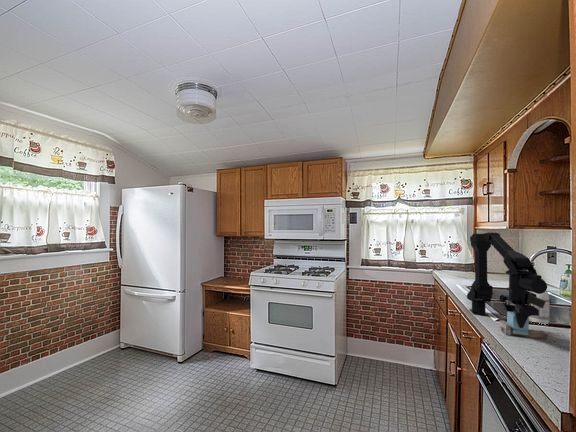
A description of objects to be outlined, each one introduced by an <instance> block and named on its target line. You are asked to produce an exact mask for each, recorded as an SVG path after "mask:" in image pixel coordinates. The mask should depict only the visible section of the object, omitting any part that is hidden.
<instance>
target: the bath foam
mask: <svg viewBox="0 0 576 432" xmlns="http://www.w3.org/2000/svg"><path fill="white" fill-rule="evenodd" d="M529 292H531V291H529ZM531 293H534V292H531ZM534 294H536V296H537V297H538V298H540V299H542V300H544V301H546V302H545V305H544V307H543V308H540V307H539V306H536V305H533V304H531V305H532V306H534V307H536V308H537V309H538V310H539V316H536V315H531V316H529V322H530V321H532V322H539V324H540V323H541V322H545V323H541V325H540V326H547V325H546V324H548V323H549V324H550V296H549V293H548V292H547V290H546V291H545V292H544V293H542V294H537V293H534ZM532 322H531V323H532ZM539 324H538V325H539ZM542 324H544V325H542ZM549 324H548V325H549Z"/></svg>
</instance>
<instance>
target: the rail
mask: <svg viewBox="0 0 576 432" xmlns="http://www.w3.org/2000/svg"><path fill="white" fill-rule="evenodd" d="M499 330H500V331H501V332H502V333H503V334H504V335H506V336H511V335H513V336H520V337H527V338H536V339H545V340H547V339H548V334H547V332H545V331H543V330H535V329H529V334H528V335H522V334H514V333H512V329H511V326H510V325H509V324H508V323H507V321H506V320H503V319H499Z"/></svg>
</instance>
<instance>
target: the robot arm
mask: <svg viewBox="0 0 576 432" xmlns="http://www.w3.org/2000/svg"><path fill="white" fill-rule="evenodd" d="M469 241H470V246H471V248H473V249H472V250H474V277H475V278H474V281H473V282H472V283H471V287H470V290H469V291H468V292H467V294H466V298H467V300H469V301H471V308H469V309H468V310H469V312H471V314H473V315H480V316H489V313H487V312H486V308H487V307H486V305H487V303H491V302H492V298H493V295H494V292H493V289H494V287H493V286H492V285H491V284H490V283H489V282H488V251H489V250H490V249H491V247H493V248H494V249H495V250H496V251H497V252H498V253H499V255H500V256H502V258H503V264H504V265H505V266H506V268H507V269H508V270H506V271H505V274H506V275H508V287H506V291H508V294H501V295H499V301H500V302H502V305H503V306H504V309H505V311H506V312H507V311H509V312H514V315H515V317H516V320H517V323H518V326H519V328H523V327H524V325H525V323H526V320H527V318H528V317H529V316H531V315H536V316H539V310H538V309H537V308H536V307H534V306H532V305H531V304H533V305H536V306H539V307H540V308H543V307H544V305H545V302H546V301H544V300H542V299H540V298H538V297H537V296H536V294H534V293H537V294H542V293H544V292H545V291H546V292H547V290H548V284H547V282H546V280H544V279H542V275H540V274H538V272H537V269H536V268H535V267H534V265H533V263H532V262H531V259H530V258H529V257H527V256H526V255H525V254H523V253H521V252H518V251H517V250H515V249H513V247H512V246H511V245H510V244H509V243H508V242H506V240H504V239H503V238H502V236H501V235H500V233H499V232H494V231H493V232H492V231H491V232H485V233H478V232H477V233H475V232H473V233H472V235H470V237H469ZM530 291H531V292H534V293H531V292H530Z"/></svg>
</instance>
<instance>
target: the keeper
mask: <svg viewBox="0 0 576 432" xmlns="http://www.w3.org/2000/svg"><path fill="white" fill-rule="evenodd" d="M506 323H508V324H509V325H510V326H511V329H512V333H514V334H522V335H528V334H529V327H530V326H529V323H530V321H529V317H528V318H527V320H526V323H525V325H524V327H523V328H519V326H518V323H517V320H516V317H515V315H514V312H509V311H506Z"/></svg>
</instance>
